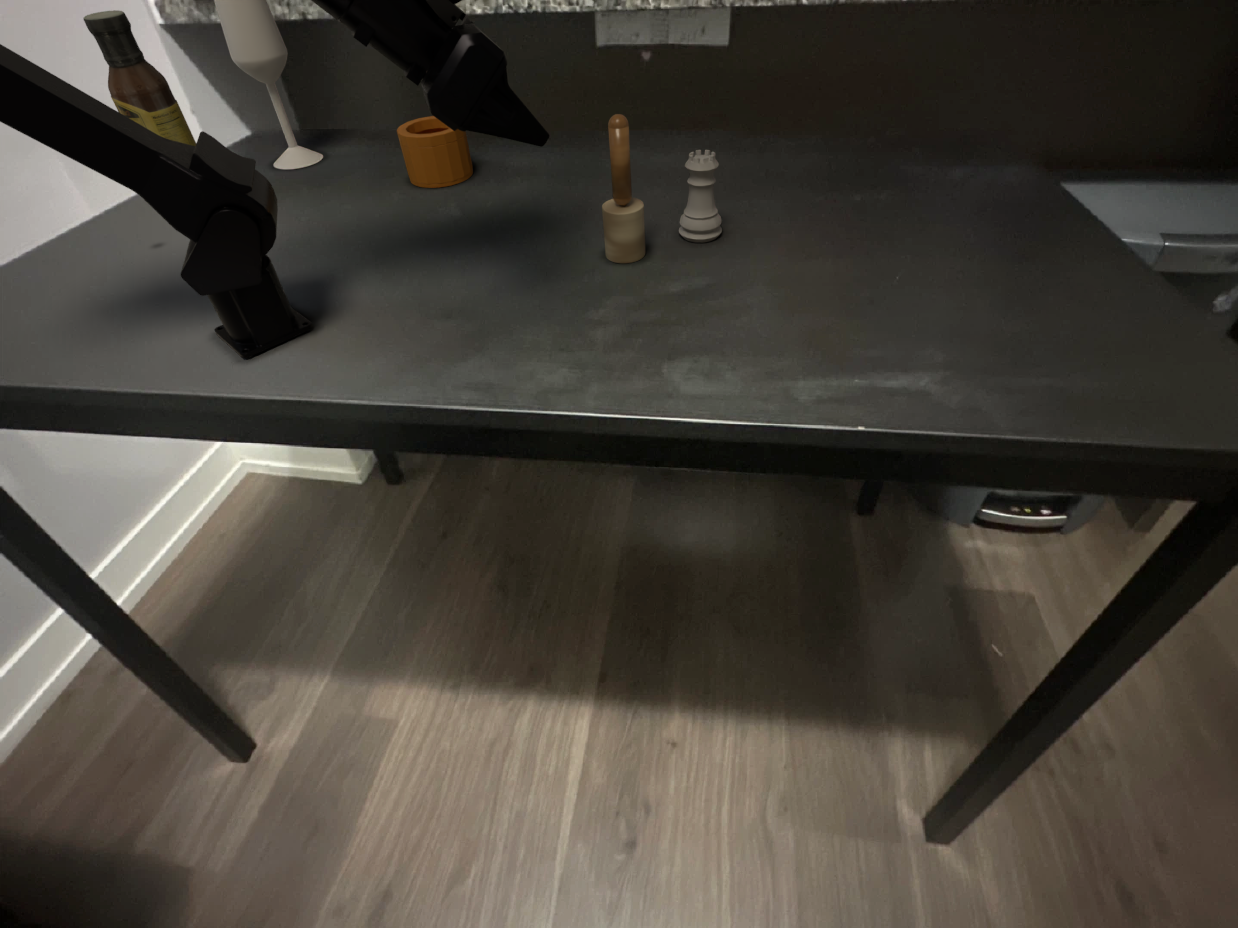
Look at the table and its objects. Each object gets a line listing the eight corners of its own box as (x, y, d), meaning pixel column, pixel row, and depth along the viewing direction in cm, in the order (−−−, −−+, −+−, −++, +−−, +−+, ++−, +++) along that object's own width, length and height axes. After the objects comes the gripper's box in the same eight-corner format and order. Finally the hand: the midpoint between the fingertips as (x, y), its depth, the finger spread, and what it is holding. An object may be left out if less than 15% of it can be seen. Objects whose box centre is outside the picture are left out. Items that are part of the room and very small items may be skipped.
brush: (653, 252, 68) (650, 112, 59) (625, 267, 66) (617, 124, 57) (625, 241, 70) (617, 104, 62) (597, 255, 68) (585, 116, 60)
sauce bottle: (161, 196, 88) (66, 14, 74) (211, 183, 90) (129, 4, 77) (171, 211, 84) (73, 21, 70) (223, 197, 86) (139, 11, 73)
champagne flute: (280, 154, 97) (200, -56, 81) (327, 149, 98) (257, -61, 81) (267, 171, 92) (179, -49, 76) (317, 166, 93) (240, -54, 76)
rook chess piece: (730, 232, 71) (735, 151, 65) (704, 248, 68) (706, 165, 63) (696, 221, 73) (698, 143, 68) (669, 236, 71) (669, 156, 65)
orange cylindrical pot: (485, 173, 87) (476, 122, 83) (433, 193, 83) (420, 141, 79) (449, 160, 91) (439, 111, 87) (398, 178, 88) (384, 128, 83)
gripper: (437, -129, 39) (629, 62, 48) (402, -134, 52) (559, 17, 62) (341, 49, 42) (538, 194, 52) (332, 3, 56) (490, 125, 65)
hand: (532, 124), depth 58 cm, fingers open, 9 cm apart
